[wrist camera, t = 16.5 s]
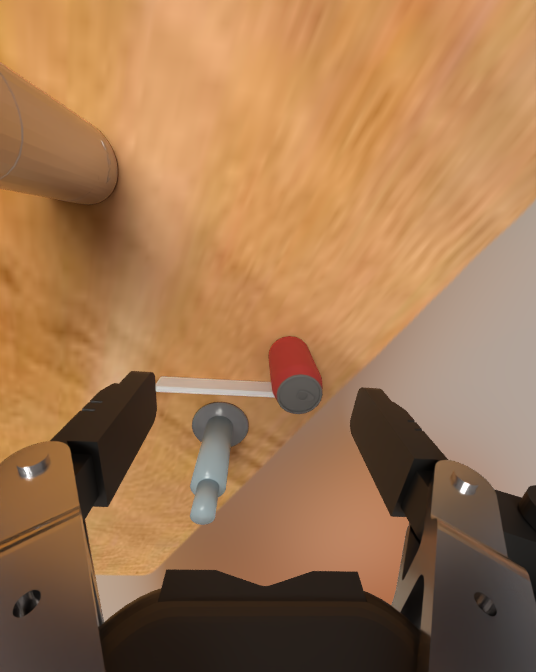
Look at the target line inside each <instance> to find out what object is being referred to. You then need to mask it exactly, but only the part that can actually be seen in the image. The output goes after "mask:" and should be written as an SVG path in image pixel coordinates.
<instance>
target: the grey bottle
mask: <svg viewBox="0 0 536 672" xmlns="http://www.w3.org/2000/svg"><path fill="white" fill-rule="evenodd" d="M232 431H233V424H232V422H231V421H230V420H229V419H228V418H227V417H224V416H214V417H212V418H210V419H209V420H208V421H207V424H206V427H205V431H204V435H203V439H202V443H201V446H200V450H199V454H198V458H197V462H196V465H195V469H194V473H193V477H192V481H191V485H190V488H191V491H192V492H193V493H194V494H195V497H194V501H193V505H192V510H191V514H190V518H191V520H192V521H193V522H195V523H197V524H201V525H204V524H209V523H211V522H212V521H213V520H214V519H215V513H216V506H217V500H218V497H220V496H221V495H222V494H223V493H224V492H225V489H226V482H227V474H228V465H229V457H230V448H231V440H232Z"/></svg>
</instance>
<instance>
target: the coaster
mask: <svg viewBox="0 0 536 672" xmlns="http://www.w3.org/2000/svg"><path fill="white" fill-rule="evenodd" d="M214 416H224V417H227V418H228V419H229V420H230V421H231V422H232V424H233V431H232V440H231V447H232V446H235V445H237V444H238V443H240V442H241V441H242V440H243V439H244V438H245V436H246V434H247V432H248V420H247V417H246V415H245V414H244V412H243V411H242V410H241V409H239V408H238V407H236V406H235V405H233V404H230V403H225V402H214V403H210V404H207V405H205V406H203V407H202V408H200V409H199V410H198V411H197V412H196V414H195V416H194V418H193V422H192V429H193V432H194V434H195V436H196V437H197V438H198V439H199V440H200V441H201V442H202V439H203V435H204V431H205V427H206V424H207V421H208V420H209V419H210V418H212V417H214Z"/></svg>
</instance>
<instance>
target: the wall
mask: <svg viewBox="0 0 536 672" xmlns="http://www.w3.org/2000/svg"><path fill="white" fill-rule="evenodd" d="M155 385H156V392H173V393H194V394H214V395H235V396H256V397H275V396H274V394H273V392H272V386H271V382H259V381H240V380H221V379H202V378H183V377H164V376H161V377H160V379H159V380H158V381H157V383H156V384H155Z"/></svg>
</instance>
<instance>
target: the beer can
mask: <svg viewBox="0 0 536 672" xmlns="http://www.w3.org/2000/svg"><path fill="white" fill-rule="evenodd" d="M269 366H270V376H271V386H272V392H273V394H274V396H275V398H276V400H277V401H278V403H279V405H280V406H281V407H282V408H283V409H284V410H285V411H287V412H290V413H293V414H303V413H307V412H309V411H311V410H313V409H314V408H315V407H317V405H318V404H319V403H320V401H321V398H322V378H321V375H320V373H319V371H318V369H317V367H316V365H315V362H314V360H313V358H312V356H311V354H310V351H309V349H308V347H307V345H306V344H305V343H304V342H303V341H302V340H301V339H299V338H297V337H291V336H288V337H283V338H281V339H279V340H277V341H276V342H275V343H274V344H273V345H272V346H271V348H270V350H269Z"/></svg>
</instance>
